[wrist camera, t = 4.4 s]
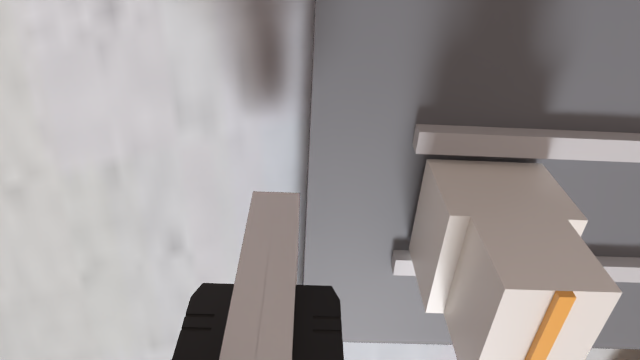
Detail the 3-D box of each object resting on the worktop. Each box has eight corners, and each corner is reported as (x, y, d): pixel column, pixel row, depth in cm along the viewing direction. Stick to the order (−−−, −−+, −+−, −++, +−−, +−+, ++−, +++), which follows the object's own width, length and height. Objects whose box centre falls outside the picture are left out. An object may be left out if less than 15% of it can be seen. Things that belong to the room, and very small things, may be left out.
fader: (408, 248, 18) (447, 398, 13) (426, 159, 16) (482, 294, 11) (510, 251, 18) (589, 401, 13) (541, 163, 16) (652, 299, 11)
